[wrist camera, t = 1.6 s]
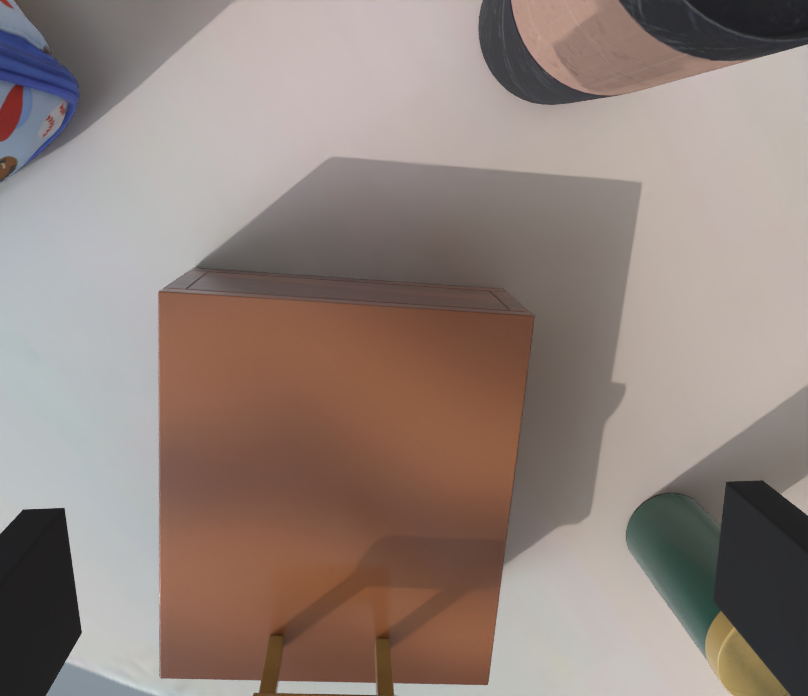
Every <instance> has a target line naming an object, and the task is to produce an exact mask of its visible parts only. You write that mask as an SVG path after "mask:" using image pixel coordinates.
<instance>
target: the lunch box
mask: <svg viewBox="0 0 808 696" xmlns="http://www.w3.org/2000/svg"><path fill="white" fill-rule="evenodd" d="M78 89H79V86H78V82H77V80H76V79H75V77H74V76H73V75H72V74H71V73H70V72H69V71H68V70H67V69H66V68H65V67H63V66H61V65H60V64H59V63H58V62H57V61H56V60H55V59H54V58H53V57H52V55H51V52H50V49H49V46H48V44H47V42H46V40H45V39H44V37H43V36H42V34H41V33H40V32H39V31H38V30H37V29H36V27H35V26H34V25H33V24H32V23H31V22H30V21H29V20H28V19H27V17H26V16H25V15H24V13H23V12H22V11H21V9H20V8H19V7H18V5H17V4H16V3H15V1H14V0H0V183H1V182H3V181H4V180H6V179H7V178H8V177H10V176H11V175H13V174H14V173H15V172H17V171H18V170H19V169H20V168H21V167H22V166H23V165H25V164H26V163H28V162H29V161H30V160H32V159H33V158H34V157H35V156H37V155H38V154H39V153H40V152H42V151H43V150H44V149H45V148H46V147H47V146H48V145H49V144H50V143H51V142H52V141H54V140H55V139H56V138H57V137H58V136H59V134H60V133H61V132H62V131H63V129H64V128H65V127H66V126H67V124H68V123H69V121H70V120H71V118H72V116H73V115H74V113H75V111H76V108H77V104H78V100H79V90H78Z"/></svg>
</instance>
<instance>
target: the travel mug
mask: <svg viewBox="0 0 808 696" xmlns="http://www.w3.org/2000/svg"><path fill="white" fill-rule="evenodd" d="M479 39H480V45H481V49H482V53H483V56H484V59H485V61H486V63H487V65H488V67H489V69H490V71H491V72H492V74H493V75H494V77H495V78H496V79H497V80H498V81H499V83H500V84H501V85H502V86H504V87H505V88H506V89H507V90H508V91H510V92H511V93H512V94H514V95H515V96H517V97H519V98H521V99H523V100H526V101H529V102H532V103H538V104H548V105H555V104H565V103H573V102H579V101H586V100H592V99H598V98H605V97H611V96H617V95H622V94H627V93H632V92H636V91H640V90H643V89H647V88H650V87H654V86H658V85H661V84H665V83H669V82H672V81H676V80H680V79H683V78H687V77H690V76H694V75H698V74H701V73H705V72H709V71H712V70H716V69H719V68H723V67H727V66H730V65H734V64H738V63H741V62H745V61H748V60H752V59H756V58H759V57H763V56H766V55H770V54H774V53H778V52H781V51H785V50H788V49H792V48H796V47H799V46H803V45H807V44H808V0H483V2H482V6H481V10H480V16H479Z"/></svg>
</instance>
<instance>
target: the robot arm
mask: <svg viewBox="0 0 808 696" xmlns="http://www.w3.org/2000/svg"><path fill="white" fill-rule="evenodd" d="M713 602H714V603H715V604H716V605H717V607H718V608H719V609H720V610H721V611H722V613H723V614H724V615H725V616H726V618H727V619H728V620H729V621H730V622H731V624H732V625H733V626H734V627H735V629H736V630H737V631H738V632H739V633H740V635H741V636H742V637H743V638H744V640H745V641H746V642H747V643H748V644H749V646H750V647H751V648H752V649H753V650H754V652H755V653H756V654H757V655H758V657H759V658H760V659H761V660H762V661H763V663H764V664H765V665H766V666H767V668H768V669H769V670H770V671H771V672H772V674H773V675H774V676H775V677H776V679H777V680H778V681H779V682H780V683H781V685H782V686H783V687H784V688H785V690H786V691H787V692H788V693H789V694H790V696H808V516H807V515H806V514H805V513H804V512H802V511H801V510H800V509H798V508H797V507H796V506H795V505H793V504H792V503H791V502H789V501H788V500H787V499H786V498H784V497H783V496H782V495H780V494H779V493H778V492H777V491H775V490H774V489H773V488H771V487H770V486H769V485H768V484H766V483H765V482H764V481H762V480H760V481H735V482H726V487H725V496H724V505H723V514H722V523H721V532H720V541H719V551H718V560H717V569H716V578H715V587H714V596H713ZM81 633H82V631H81V624H80V617H79V610H78V602H77V595H76V588H75V581H74V574H73V567H72V559H71V552H70V545H69V538H68V531H67V523H66V516H65V509H64V508H53V509H28V510H22V512H21V513H20V514H19V515H18V516H17V517H16V518H15V519H14V520H13V521H12V522H11V523H10V524H9V525H8V526H7V527H6V529H5V530H4V531H3V532H2V533H1V534H0V696H46V694H47V693H48V691H49V689H50V687H51V685H52V684H53V682H54V680H55V679H56V677H57V675H58V673H59V672H60V670H61V668H62V666H63V665H64V663H65V661H66V659H67V658H68V656H69V654H70V652H71V651H72V649H73V647H74V645H75V644H76V642H77V640H78V638H79V637H80V635H81Z"/></svg>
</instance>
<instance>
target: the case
mask: <svg viewBox="0 0 808 696" xmlns="http://www.w3.org/2000/svg"><path fill="white" fill-rule="evenodd" d="M164 288H170V289H185V290H200V291H215V292H230V293H246V294H261V295H276V296H291V297H306V298H321V299H337V300H352V301H367V302H382V303H397V304H412V305H427V306H443V307H458V308H473V309H488V310H503V311H518V312H529V311H528V310H527V309H525V308H524V307H523V306H522V305H521V304H520V303H518V302H517V301H516V300H515V299H514V298H513V297H511V296H510V295H509V294H508V293H507V292H506V291H505V290H504V289H495V288H480V287H466V286H451V285H437V284H422V283H407V282H393V281H378V280H364V279H349V278H335V277H320V276H305V275H291V274H276V273H262V272H247V271H233V270H218V269H203V268H193V269H191V270H190V271H188V272H187V273H185V274H184V275H182V276H181V277H179V278H178V279H176V280H175V281H173V282H172V283H170V284H169V285H167V286H166V287H164Z"/></svg>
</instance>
